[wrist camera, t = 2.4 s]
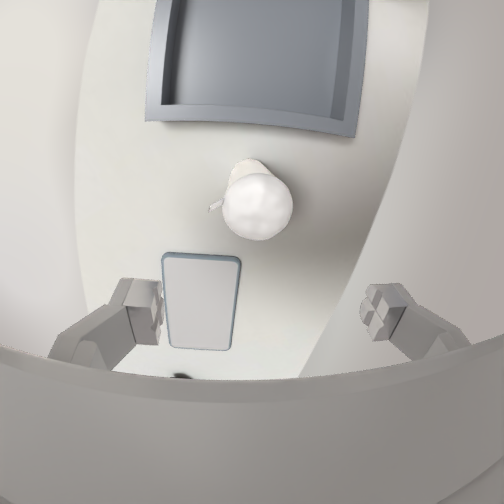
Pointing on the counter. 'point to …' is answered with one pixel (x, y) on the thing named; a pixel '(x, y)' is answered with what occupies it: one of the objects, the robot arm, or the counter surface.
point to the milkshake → (255, 201)
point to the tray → (258, 62)
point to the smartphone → (200, 299)
